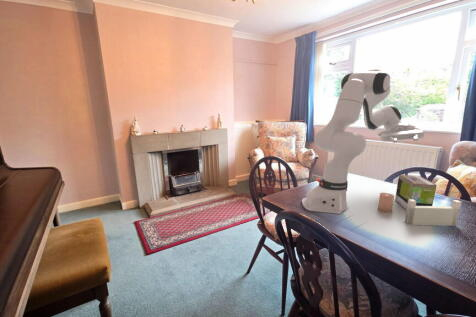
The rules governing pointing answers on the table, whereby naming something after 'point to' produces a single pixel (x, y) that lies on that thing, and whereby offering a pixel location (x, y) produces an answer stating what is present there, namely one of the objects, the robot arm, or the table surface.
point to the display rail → (432, 214)
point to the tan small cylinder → (385, 202)
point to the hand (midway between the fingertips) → (405, 140)
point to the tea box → (415, 190)
